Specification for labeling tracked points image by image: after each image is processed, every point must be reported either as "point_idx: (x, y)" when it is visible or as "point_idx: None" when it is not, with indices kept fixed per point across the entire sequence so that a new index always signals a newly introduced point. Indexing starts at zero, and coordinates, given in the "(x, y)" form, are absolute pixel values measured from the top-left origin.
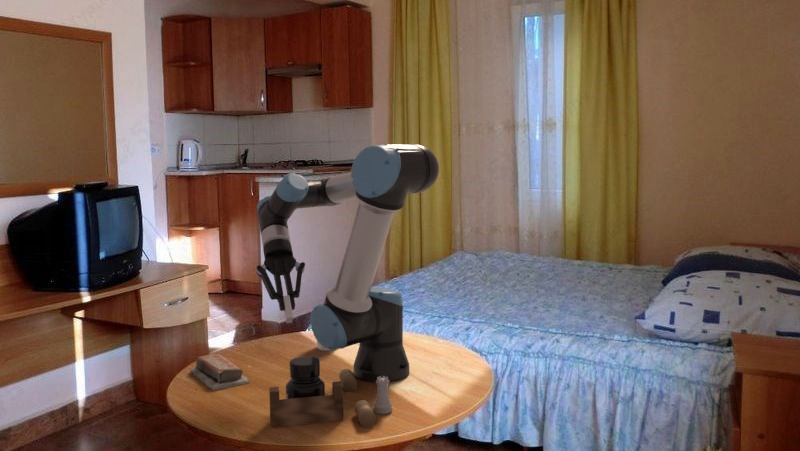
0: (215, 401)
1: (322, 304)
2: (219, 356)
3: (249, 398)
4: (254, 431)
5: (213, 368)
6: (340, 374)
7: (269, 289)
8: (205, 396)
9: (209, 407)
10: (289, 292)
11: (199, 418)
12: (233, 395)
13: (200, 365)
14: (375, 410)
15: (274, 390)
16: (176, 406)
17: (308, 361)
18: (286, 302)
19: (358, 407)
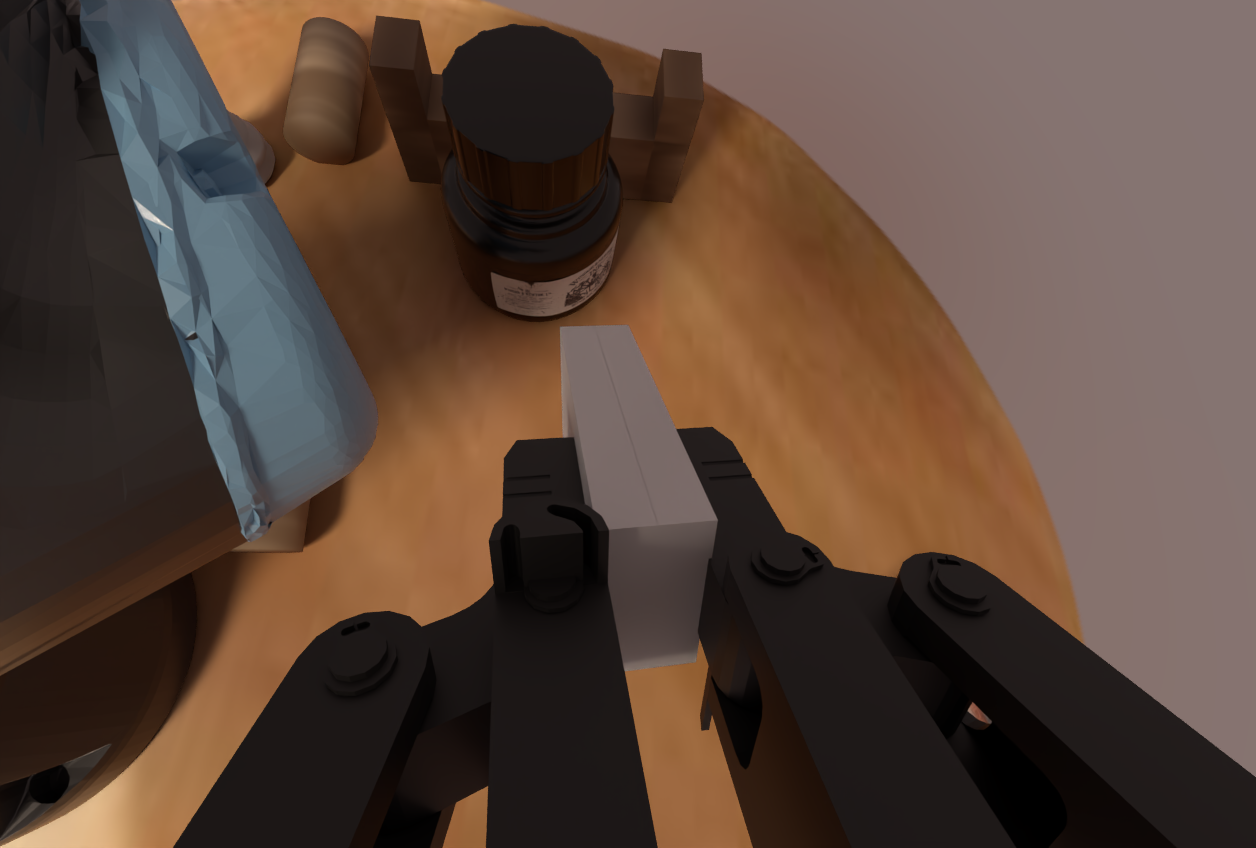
0: (884, 451)
1: (106, 82)
2: None
3: (753, 448)
4: (721, 153)
5: (984, 716)
6: (291, 521)
7: (1105, 664)
8: (933, 521)
9: (895, 394)
10: (597, 519)
11: (910, 304)
12: (821, 502)
13: None
14: (269, 151)
15: (682, 62)
16: (1017, 439)
17: (509, 76)
18: (647, 428)
19: (342, 87)
